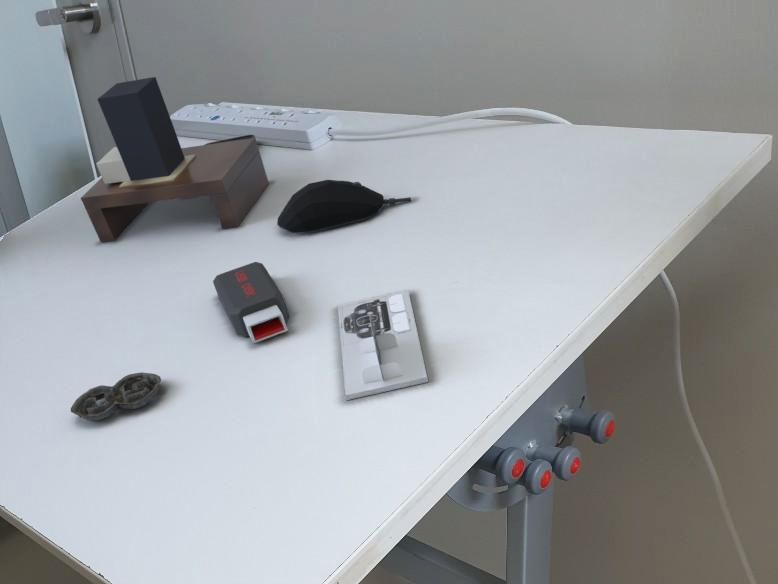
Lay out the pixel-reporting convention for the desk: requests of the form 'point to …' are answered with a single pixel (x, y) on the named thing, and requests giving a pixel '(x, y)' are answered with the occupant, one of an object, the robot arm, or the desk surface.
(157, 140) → the charcoal rectangular prism
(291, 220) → the gaming mouse
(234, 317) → the usb drive
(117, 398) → the corroded twin loop
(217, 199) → the brown coffee table
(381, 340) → the car print tile
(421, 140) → the desk surface
